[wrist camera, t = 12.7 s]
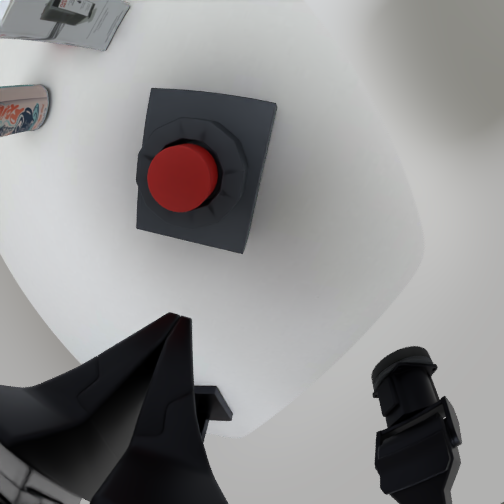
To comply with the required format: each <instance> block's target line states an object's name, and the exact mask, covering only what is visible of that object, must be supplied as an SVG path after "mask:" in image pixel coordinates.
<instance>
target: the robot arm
mask: <svg viewBox="0 0 504 504" xmlns="http://www.w3.org/2000/svg"><path fill="white" fill-rule="evenodd" d="M436 370H437V365H436V364H422V363H408V362H399V363H397V364H396V365H395V367H394V368H393V369H392V371H391V372H390V373H389V374H388V376H387V377H386V378H385V379H384V381H383V382H382V383H381V384H380V385H379V387H378V388H377V389H376V390H375V391H374V393H373V398H379V401H380V406H381V411H382V415H383V416H384V417H386V422H387V427H388V428H387V429H385V430H382V431H378V432H377V435H376V436H377V437H376V450H375V451H376V452H375V469H376V470H377V471H378V474H379V475H380V488H381V490H382V491H383V492H384V493H385V494H390V495H391V496H392V497H393V498H394V499H395V500H396V501H397V502H398V503H399V504H452V500H451V492H450V491H451V488H452V485H453V483H454V480H455V478H456V475H457V473H458V470H459V466H460V464H461V461H460V456H459V452H458V447H457V446H459V445H461V443H462V440H461V433H460V427H459V422H458V419H457V416H456V413H455V411H454V408H453V407H452V405H451V404H450V402H449V401H448V399H447V398H446V397H445V396H444V397H442V398H441V399H440V400H439V397H438V394H437V391H436V389H435V386H434V383H433V381H432V379H431V375H432V374H433V373H434V372H435V371H436ZM444 417H446V418H445V419H443V418H444ZM82 498H84V499H85V500H88V501H90V504H228V502H227V500H226V498H225V497H224V495H223V493H222V491H221V489H220V487H219V486H218V484H217V482H216V480H215V478H214V475H213V473H212V470H211V468H210V465H209V462H208V459H207V455H206V451H205V448H204V444H203V441H202V437H201V433H200V430H199V425H198V420H197V416H196V407H195V395H194V378H193V351H192V319H191V318H188V317H184V316H180V315H178V314H174V313H171V312H170V313H167V314H165V315H164V316H162V317H161V318H159V319H157V320H156V321H154V322H152V323H151V324H149V325H147V326H146V327H144V328H142V329H141V330H139V331H137V332H136V333H134V334H133V335H131V336H129V337H128V338H126V339H124V340H123V341H121V342H119V343H118V344H116V345H114V346H113V347H111V348H109V349H108V350H106V351H104V352H103V353H101V354H99V355H98V356H96V357H94V358H92V359H91V360H89V361H87V362H86V363H84V364H82V365H80V366H78V367H76V368H74V369H72V370H70V371H68V372H66V373H64V374H61V375H59V376H57V377H55V378H52V379H50V380H48V381H45V382H43V383H41V384H38V385H36V386H32V387H25V388H20V387H11V386H4V385H0V504H80V501H81V499H82ZM501 504H504V502H503V503H501Z"/></svg>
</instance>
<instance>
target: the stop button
mask: <svg viewBox="0 0 504 504" xmlns="http://www.w3.org/2000/svg"><path fill="white" fill-rule="evenodd" d="M147 180H148V186H149V190H150V192H151V194H152V196H153V198H154V199H155V200H156V201H157V202H158V203H159V204H160V205H161V206H162V207H164V208H166V209H168V210H170V211H174V212H187V211H191V210H193V209H195V208H197V207H198V206H199V205H201V204H202V203H203V202H204V201H205V200H206V199H207V198H208V197H209V196H210V195H211V193H212V192H213V191H214V189H215V187H216V184H217V180H218V169H217V165H216V162H215V160H214V158H213V157H212V155H211V154H210V153H209V152H208V151H207V150H206V149H204V148H203V147H201V146H199V145H196V144H190V143H187V144H180V145H176V146H171V147H168V148H166V149H164V150H162V151H160V152H159V153H158V154H157V155H156V156H155V157H154V159H153V160H152V162H151V164H150V166H149V170H148V176H147Z"/></svg>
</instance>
